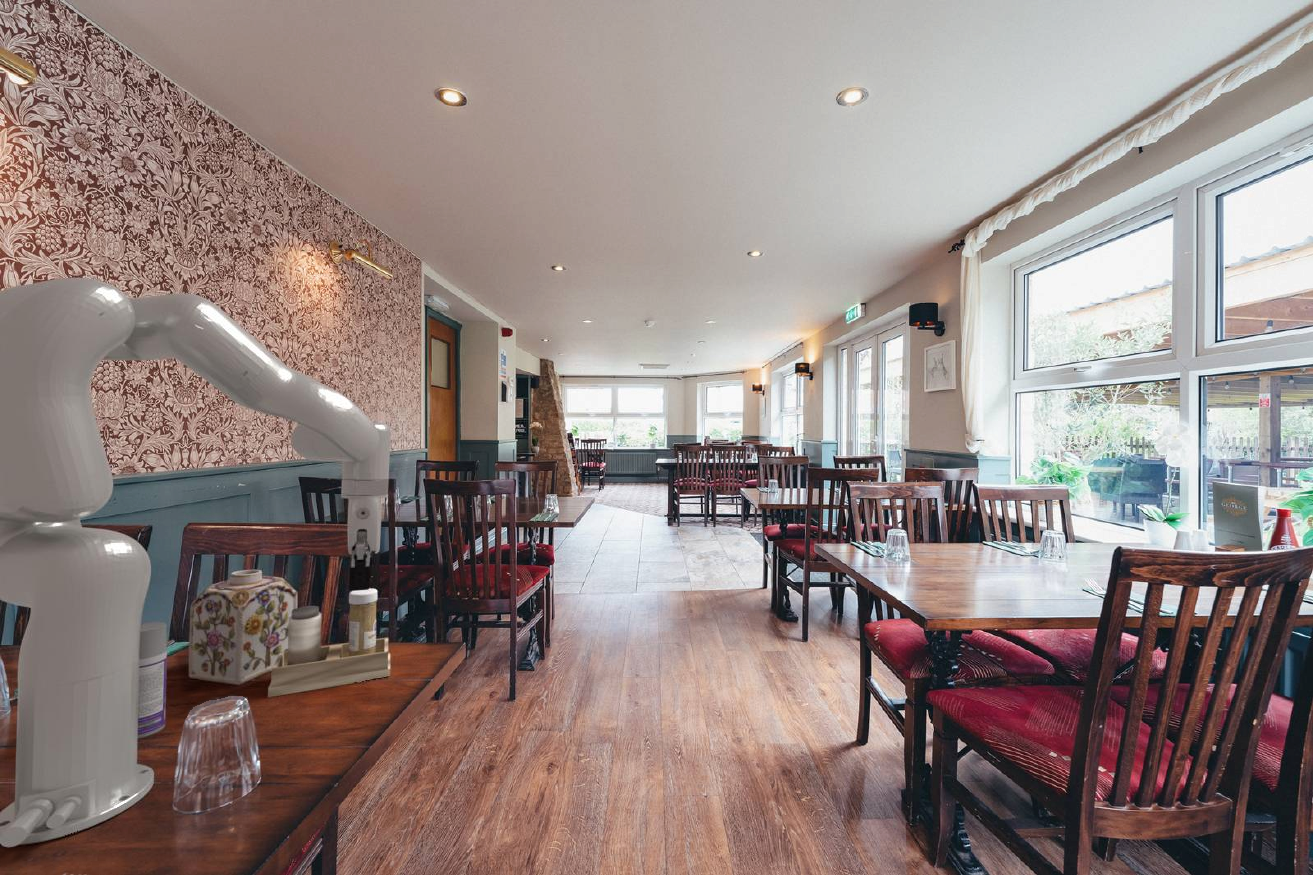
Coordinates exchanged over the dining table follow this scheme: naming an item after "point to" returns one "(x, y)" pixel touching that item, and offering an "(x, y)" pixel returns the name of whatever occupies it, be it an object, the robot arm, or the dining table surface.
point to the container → (152, 678)
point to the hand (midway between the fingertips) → (360, 584)
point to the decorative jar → (239, 627)
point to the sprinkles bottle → (362, 622)
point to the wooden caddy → (321, 659)
